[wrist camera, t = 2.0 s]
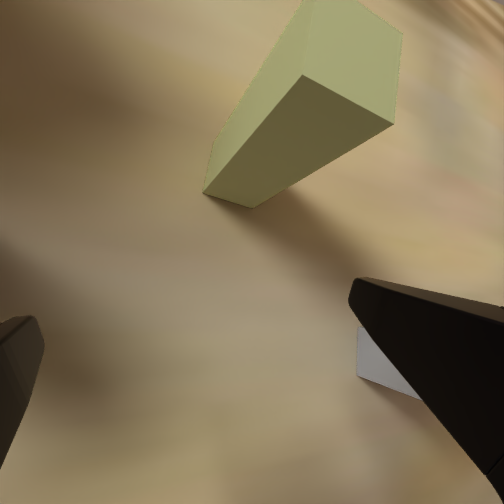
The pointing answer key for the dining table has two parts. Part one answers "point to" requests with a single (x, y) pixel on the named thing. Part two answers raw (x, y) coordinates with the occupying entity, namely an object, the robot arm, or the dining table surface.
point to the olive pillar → (308, 101)
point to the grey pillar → (379, 366)
